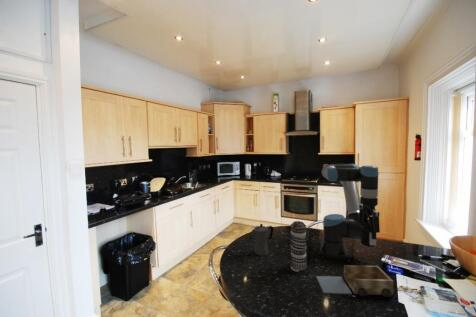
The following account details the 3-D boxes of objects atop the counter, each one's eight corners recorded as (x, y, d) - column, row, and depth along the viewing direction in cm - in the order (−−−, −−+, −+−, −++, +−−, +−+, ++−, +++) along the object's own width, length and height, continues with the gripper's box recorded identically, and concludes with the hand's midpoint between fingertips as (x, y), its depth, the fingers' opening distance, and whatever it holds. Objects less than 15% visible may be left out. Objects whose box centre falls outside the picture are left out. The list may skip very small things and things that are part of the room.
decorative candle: (295, 261, 126) (295, 218, 125) (310, 267, 120) (310, 222, 118) (286, 267, 120) (286, 222, 118) (302, 274, 113) (301, 227, 112)
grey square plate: (351, 295, 97) (323, 294, 98) (341, 278, 109) (316, 278, 110) (351, 292, 97) (323, 292, 98) (341, 276, 109) (316, 276, 110)
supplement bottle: (357, 241, 115) (357, 219, 114) (369, 240, 116) (369, 218, 115) (367, 248, 108) (367, 224, 107) (379, 246, 109) (380, 223, 108)
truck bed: (356, 297, 96) (356, 281, 95) (342, 277, 110) (342, 263, 110) (394, 298, 95) (395, 282, 94) (376, 278, 109) (376, 264, 109)
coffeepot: (255, 257, 131) (255, 228, 130) (248, 251, 140) (248, 223, 139) (277, 252, 137) (277, 224, 136) (269, 246, 146) (269, 219, 145)
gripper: (389, 201, 100) (388, 250, 102) (365, 192, 120) (364, 233, 122) (373, 202, 101) (372, 250, 102) (351, 192, 120) (351, 233, 122)
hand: (368, 241), depth 112 cm, fingers closed on supplement bottle, 7 cm apart
